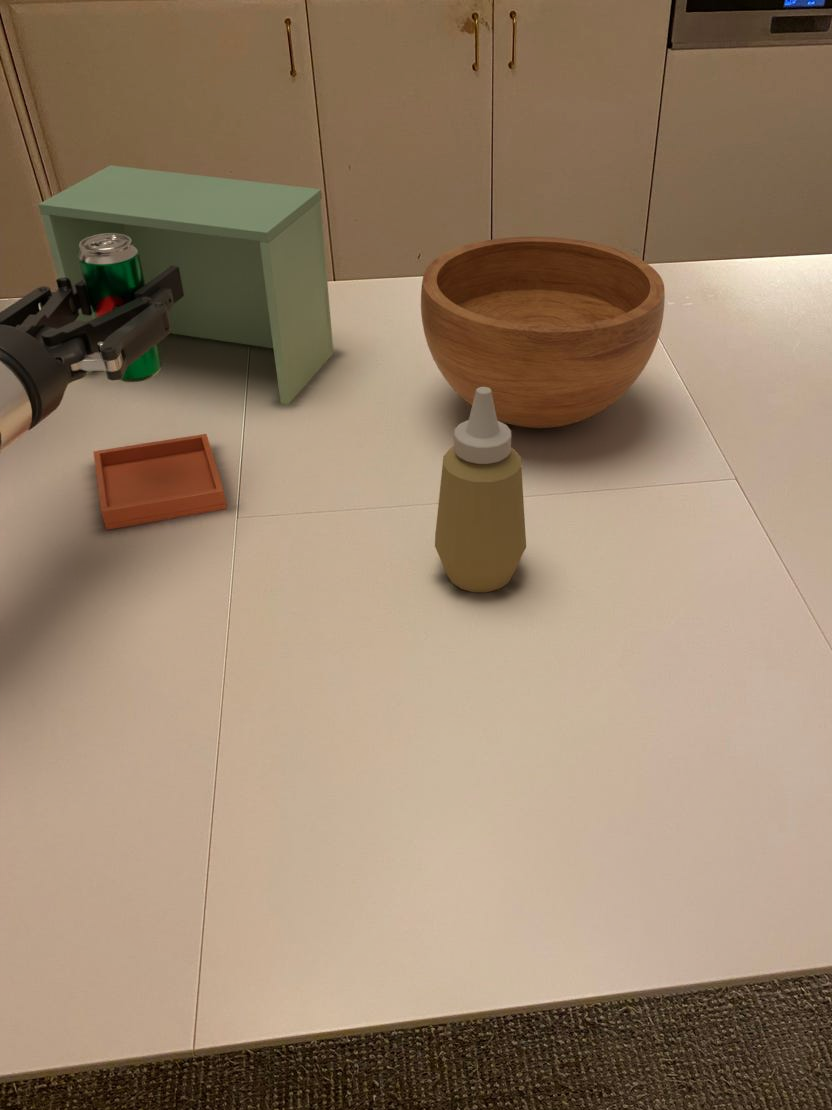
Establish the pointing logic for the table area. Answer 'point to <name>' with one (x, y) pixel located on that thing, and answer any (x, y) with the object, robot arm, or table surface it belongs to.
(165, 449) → the tray
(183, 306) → the cubby
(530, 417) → the bowl
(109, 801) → the table surface
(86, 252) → the soda can
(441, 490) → the squeeze bottle
